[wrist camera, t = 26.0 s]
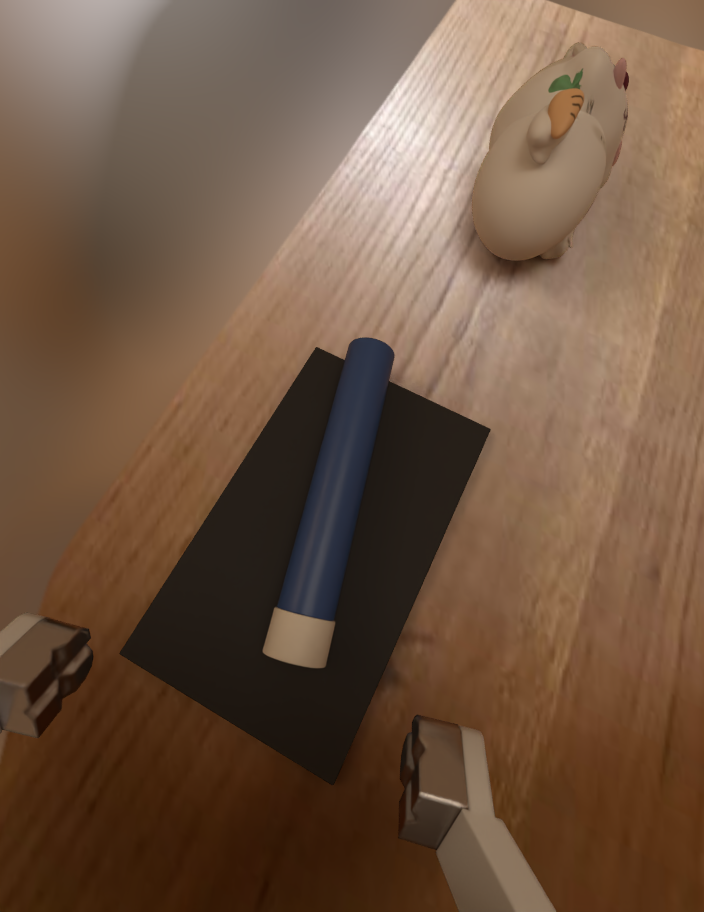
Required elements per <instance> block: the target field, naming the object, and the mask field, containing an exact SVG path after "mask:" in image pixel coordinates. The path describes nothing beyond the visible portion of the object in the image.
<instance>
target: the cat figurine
mask: <svg viewBox="0 0 704 912" xmlns="http://www.w3.org/2000/svg"><path fill="white" fill-rule="evenodd" d="M628 83H629V76H628V73H627V72H626V60H625V59H624V58H621V59H620V60H619V61H618V62H617V64H616V66H615V65H614V64H613V63H612V61H611V59H610V56H609V55H608V53H607V52H606V51H605V50H604V49H603V48H601V47H597V46H592V47H588V48H587V47H586V46H585V45H584V44H583V43H575V44H574V45H572V46H571V47H570V49H569V50H568V51H567V53H566V54H565V56H564V58H563V59H561V60H558V61H556V62H554V63H552V64H550V65H548V66H546V67H545V68H543V69H542V70H540V71H539V72H538V73H536V74H535V75H534V76H533V77H531V78H530V79H529V80H528V81H527V82H526V83H525V84H524V85H522V86H521V87H520V88H519V89H518V90H517V91H516V92H515V93H514V94H513V96H512V97H511V98H510V99H509V100H508V101H507V102H506V104H505V105H504V106H503V107H502V109H501V110H500V112H499V114H498V115H497V117H496V119H495V122H494V125H493V128H492V131H491V136H490V143H489V151H488V153H487V155H486V156H485V158H484V160H483V162H482V164H481V166H480V169H479V171H478V174H477V177H476V180H475V184H474V188H473V194H472V216H473V222H474V226H475V229H476V231H477V234H478V236H479V238H480V240H481V241H482V243H483V244H484V245H485V247H486V248H487V249H488V250H489V251H491V252H492V253H493V254H495V255H496V256H498V257H500V258H503V259H506V260H513V261H519V260H526V259H530V258H533V257H536V256H538V255H540V256H541V257H542V258H543V259H550V258H558V257H561V256H562V255H563V254H564V253H565V252H566V251H567V249H568V248H569V247H570V248H571V247H572V248H573V242H572V237H573V233H574V230H575V227H576V226H577V225H578V224H579V223H580V221H581V220H582V219H583V217H584V216H585V215H586V213H587V212H588V210H589V208H590V207H591V205H592V203H593V201H594V200H595V198H596V196H597V193H598V191H599V189H600V188H601V187H603V185H604V184H605V183H606V182H607V180H608V178H609V176H610V173H611V169H612V166H614V164H615V163H616V161H617V159H618V157H619V154H620V150H621V145H622V137H623V134H624V131H625V127H626V122H627V117H628V102H627V96H626V89H627V87H628Z"/></svg>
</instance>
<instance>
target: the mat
mask: <svg viewBox="0 0 704 912" xmlns="http://www.w3.org/2000/svg"><path fill="white" fill-rule="evenodd" d="M344 361H345V360H343V359H341V358H339V357H337V356H334V355H332V354H330V353H328V352H326V351H324V350H322V349H320V348H317V347H316V348H315V350H314V351H313V353H312V354H311V356H310V358H309V359H308V361H307V362H306V364H305V365H304V367H303V368H302V370H301V372H300V373H299V375H298V376H297V378H296V379H295V381H294V382H293V384H292V386H291V387H290V389H289V390H288V392H287V393H286V395H285V396H284V398H283V400H282V401H281V403H280V404H279V406H278V407H277V409H276V410H275V412H274V414H273V415H272V417H271V418H270V420H269V421H268V423H267V424H266V426H265V428H264V429H263V431H262V432H261V434H260V435H259V437H258V438H257V440H256V442H255V443H254V445H253V446H252V448H251V449H250V451H249V452H248V454H247V456H246V457H245V459H244V460H243V462H242V463H241V465H240V467H239V468H238V470H237V471H236V473H235V474H234V476H233V477H232V479H231V481H230V482H229V484H228V485H227V487H226V488H225V490H224V491H223V493H222V495H221V496H220V498H219V499H218V501H217V502H216V504H215V505H214V507H213V509H212V510H211V512H210V513H209V515H208V516H207V518H206V519H205V521H204V523H203V524H202V526H201V527H200V529H199V530H198V532H197V533H196V535H195V537H194V538H193V540H192V541H191V543H190V544H189V546H188V547H187V549H186V551H185V552H184V554H183V555H182V557H181V558H180V560H179V561H178V563H177V565H176V566H175V568H174V569H173V571H172V572H171V574H170V576H169V577H168V579H167V580H166V582H165V583H164V585H163V586H162V588H161V590H160V591H159V593H158V594H157V596H156V597H155V599H154V600H153V602H152V604H151V605H150V607H149V608H148V610H147V611H146V613H145V614H144V616H143V618H142V619H141V621H140V622H139V624H138V625H137V627H136V628H135V630H134V632H133V633H132V635H131V636H130V638H129V639H128V641H127V642H126V644H125V646H124V647H123V649H122V650H121V652H120V655H122V656H124V657H125V658H127V659H128V660H130V661H132V662H133V663H135V664H137V665H138V666H140V667H141V668H143V669H145V670H146V671H148V672H150V673H151V674H153V675H154V676H156V677H158V678H159V679H161V680H163V681H164V682H166V683H167V684H169V685H171V686H172V687H174V688H175V689H177V690H179V691H180V692H182V693H184V694H185V695H187V696H188V697H190V698H192V699H193V700H195V701H197V702H198V703H200V704H201V705H203V706H205V707H206V708H208V709H210V710H211V711H213V712H214V713H216V714H218V715H219V716H221V717H222V718H224V719H226V720H227V721H229V722H231V723H232V724H234V725H235V726H237V727H239V728H240V729H242V730H244V731H245V732H247V733H248V734H250V735H252V736H253V737H255V738H257V739H258V740H260V741H261V742H263V743H265V744H266V745H268V746H269V747H271V748H273V749H274V750H276V751H278V752H279V753H281V754H282V755H284V756H286V757H287V758H289V759H291V760H292V761H294V762H295V763H297V764H299V765H300V766H302V767H304V768H305V769H307V770H308V771H310V772H312V773H313V774H315V775H316V776H318V777H320V778H321V779H323V780H325V781H326V782H328V783H329V784H331V785H334V783H335V781H336V778H337V776H338V774H339V772H340V769H341V767H342V765H343V763H344V760H345V758H346V756H347V753H348V751H349V749H350V747H351V744H352V742H353V740H354V738H355V735H356V733H357V731H358V729H359V726H360V724H361V722H362V720H363V717H364V715H365V713H366V710H367V708H368V706H369V704H370V701H371V699H372V697H373V695H374V692H375V690H376V688H377V686H378V683H379V681H380V679H381V677H382V674H383V672H384V670H385V667H386V665H387V663H388V661H389V658H390V656H391V654H392V652H393V649H394V647H395V645H396V643H397V640H398V638H399V636H400V634H401V631H402V629H403V627H404V624H405V622H406V620H407V618H408V615H409V613H410V611H411V609H412V606H413V604H414V602H415V600H416V597H417V595H418V593H419V591H420V588H421V586H422V584H423V581H424V579H425V577H426V575H427V572H428V570H429V568H430V566H431V563H432V561H433V559H434V557H435V554H436V552H437V550H438V548H439V545H440V543H441V541H442V539H443V536H444V534H445V532H446V529H447V527H448V525H449V523H450V520H451V518H452V516H453V514H454V511H455V509H456V507H457V505H458V502H459V500H460V498H461V496H462V493H463V491H464V489H465V486H466V484H467V482H468V480H469V477H470V475H471V473H472V471H473V468H474V466H475V464H476V462H477V459H478V457H479V455H480V453H481V450H482V448H483V446H484V443H485V441H486V439H487V437H488V434H489V432H490V429H489V428H487V427H485V426H483V425H481V424H479V423H477V422H474V421H472V420H470V419H468V418H466V417H464V416H462V415H460V414H457V413H455V412H453V411H451V410H449V409H447V408H445V407H443V406H440V405H438V404H436V403H434V402H432V401H430V400H428V399H426V398H424V397H421V396H419V395H417V394H415V393H413V392H411V391H409V390H407V389H404V388H402V387H400V386H398V385H396V384H394V383H392V382H390V381H389V383H388V387H387V391H386V396H385V400H384V404H383V409H382V413H381V418H380V422H379V426H378V431H377V435H376V439H375V444H374V448H373V452H372V457H371V461H370V465H369V470H368V474H367V478H366V483H365V487H364V491H363V496H362V500H361V505H360V509H359V513H358V518H357V522H356V526H355V531H354V535H353V539H352V544H351V548H350V552H349V557H348V561H347V565H346V570H345V574H344V579H343V583H342V587H341V592H340V596H339V600H338V605H337V609H336V613H335V618H334V621H335V627H334V631H333V636H332V640H331V645H330V649H329V653H328V658H327V662H326V666H325V667H324V668H309V667H303V666H298V665H294V664H290V663H286V662H283V661H279V660H276V659H274V658H271V657H269V656H267V655H265V654H264V653H263V647H264V644H265V640H266V637H267V633H268V629H269V626H270V622H271V618H272V615H273V611H274V608H275V607H277V605H278V601H279V597H280V594H281V590H282V587H283V583H284V579H285V576H286V572H287V568H288V565H289V561H290V557H291V554H292V550H293V547H294V543H295V539H296V536H297V532H298V528H299V525H300V521H301V518H302V514H303V510H304V507H305V503H306V499H307V496H308V492H309V489H310V485H311V481H312V478H313V474H314V470H315V467H316V463H317V459H318V456H319V452H320V449H321V445H322V441H323V438H324V434H325V430H326V427H327V423H328V420H329V416H330V412H331V409H332V405H333V401H334V398H335V394H336V390H337V387H338V383H339V380H340V376H341V372H342V369H343V365H344Z"/></svg>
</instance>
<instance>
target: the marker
mask: <svg viewBox="0 0 704 912" xmlns="http://www.w3.org/2000/svg"><path fill="white" fill-rule="evenodd" d="M393 361H394V352H393V350H392V349H391V347H390V346H388V345H387V344H386V343H384V342H382V341H380V340H377V339H373V338H358V339H355V340H353V341H352V342H351V343H350V344H349V347H348V351H347V354H346V358H345V361H344V365H343V369H342V372H341V376H340V380H339V383H338V387H337V390H336V394H335V398H334V401H333V405H332V409H331V412H330V416H329V420H328V423H327V427H326V430H325V434H324V438H323V441H322V445H321V449H320V452H319V456H318V459H317V463H316V467H315V470H314V474H313V478H312V481H311V485H310V489H309V492H308V496H307V499H306V503H305V507H304V510H303V514H302V518H301V521H300V525H299V528H298V532H297V536H296V539H295V543H294V547H293V550H292V554H291V557H290V561H289V565H288V568H287V572H286V576H285V579H284V583H283V587H282V590H281V594H280V597H279V601H278V605H277V607H275V608H274V611H273V615H272V618H271V622H270V626H269V629H268V633H267V637H266V640H265V644H264V647H263V653H264V654H265V655H267V656H269V657H271V658H274V659H276V660H279V661H283V662H286V663H290V664H294V665H298V666H303V667H309V668H324V667H325V666H326V662H327V658H328V653H329V649H330V645H331V640H332V636H333V631H334V627H335V621H334V618H335V613H336V609H337V605H338V600H339V596H340V592H341V587H342V583H343V579H344V574H345V570H346V565H347V561H348V557H349V552H350V548H351V544H352V539H353V535H354V531H355V526H356V522H357V518H358V513H359V509H360V505H361V500H362V496H363V491H364V487H365V483H366V478H367V474H368V470H369V465H370V461H371V457H372V452H373V448H374V444H375V439H376V435H377V431H378V426H379V422H380V418H381V413H382V409H383V404H384V400H385V396H386V391H387V387H388V383H389V378H390V374H391V370H392V365H393Z"/></svg>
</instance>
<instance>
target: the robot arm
mask: <svg viewBox="0 0 704 912" xmlns="http://www.w3.org/2000/svg"><path fill="white" fill-rule="evenodd" d="M90 638H91V637H90V632H89V629H88V628H84V627H80V626H76V625H73V624H69V623H65V622H62V621H58V620H54V619H51V618H48V617H44V616H40V615H36V614H32V613H28V612H27V613H24V614H22V615H20V616H18V617H17V618H16V619H14V620H13V621H12V622H11V623H10V624H9V625H8V626H7V627H5V628H4V629H3V630H2V631H1V632H0V733H1V732H2V730H6V731H10V732H14V733H18V734H22V735H26V736H30V737H35V738H39V737H40V736H41V734H42V733H43V732H44V731H45V729H46V728H47V727H48V726H49V724H50V723H51V722H52V721H53V719H54V718H55V717H56V716H57V714H58V713H59V712H60V711H61V709H62V700H63V698H65V697H66V696H68V695H70V694H72V693H74V692H75V691H77V689H78V688H79V687H80V685H81V684H82V683H83V681H84V680H85V679H86V677H87V675H88V673H89V671H90V669H91V667H92V662H93V651H92V649H91V648H90V647H89V646H88V645H87V644H86V643H87V642H88V641H89V640H90ZM400 780H401V782H402V784H403V786H404V788H405V790H404V792H403V794H402V796H401V799H400V801H399V825H398V838H399V839H402V840H405V841H409V842H412V843H415V844H418V845H422V846H425V847H428V848H431V849H434V850H437V851H436V855H437V857H438V860H439V862H440V865H441V867H442V870H443V872H444V875H445V877H446V880H447V883H448V885H449V888H450V890H451V893H452V895H453V898H454V900H455V903H456V905H457V908H458V911H459V912H556V910H555V909H554V907H553V905H552V903H551V902H550V900H549V898H548V897H547V895H546V893H545V892H544V890H543V888H542V887H541V885H540V883H539V881H538V880H537V878H536V876H535V875H534V873H533V871H532V870H531V868H530V866H529V865H528V863H527V861H526V859H525V858H524V856H523V854H522V853H521V851H520V849H519V848H518V846H517V844H516V843H515V841H514V839H513V837H512V836H511V834H510V832H509V831H508V829H507V827H506V826H505V824H504V822H503V821H502V819H499V818H496V817H495V813H494V807H493V800H492V793H491V786H490V779H489V772H488V765H487V759H486V752H485V745H484V738H483V736H482V734H481V732H480V731H479V730H476V729H472V728H468V727H464V726H459V725H458V724H454V723H450V722H446V721H441V720H437V719H433V718H429V717H425V716H421V715H416V716H415V717H414V719H413V722H412V732H411V733H408V734H407V736H406V739H405V741H404V745H403V750H402V755H401V765H400Z"/></svg>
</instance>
